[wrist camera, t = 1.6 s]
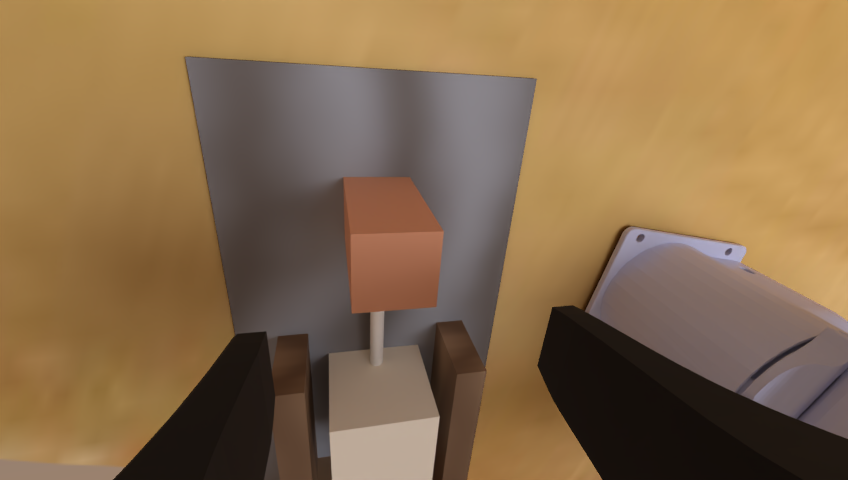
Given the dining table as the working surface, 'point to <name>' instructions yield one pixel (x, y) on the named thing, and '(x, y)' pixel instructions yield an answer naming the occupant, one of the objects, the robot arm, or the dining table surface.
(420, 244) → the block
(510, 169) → the panel
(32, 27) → the dining table surface
